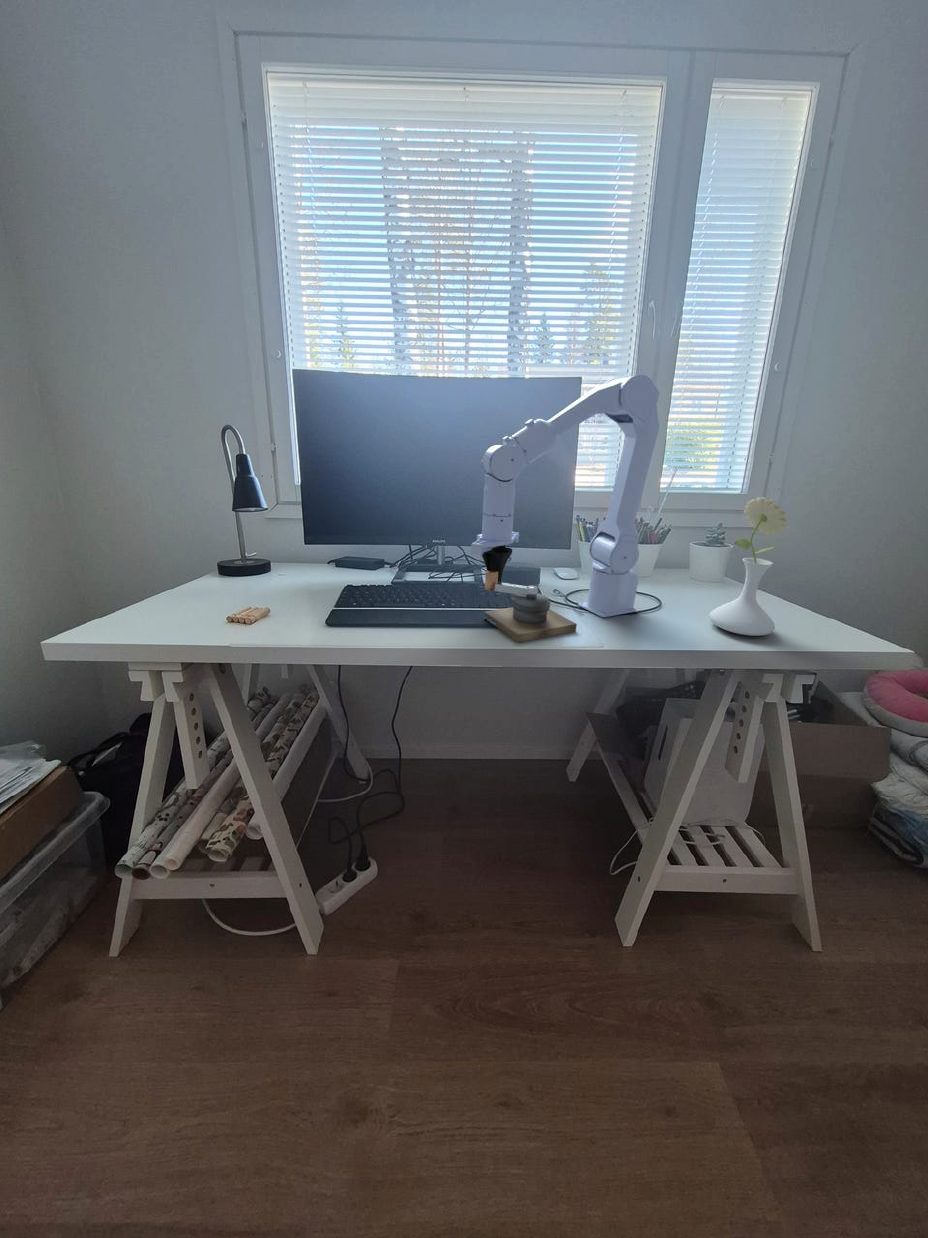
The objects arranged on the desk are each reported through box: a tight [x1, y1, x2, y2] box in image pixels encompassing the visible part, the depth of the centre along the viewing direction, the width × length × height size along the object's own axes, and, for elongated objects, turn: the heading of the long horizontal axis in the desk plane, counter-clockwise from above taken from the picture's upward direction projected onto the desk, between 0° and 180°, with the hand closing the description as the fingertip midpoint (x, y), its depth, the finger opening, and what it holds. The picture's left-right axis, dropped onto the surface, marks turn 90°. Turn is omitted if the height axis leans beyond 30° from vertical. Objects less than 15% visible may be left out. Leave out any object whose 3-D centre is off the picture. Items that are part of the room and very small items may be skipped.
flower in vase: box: [708, 496, 788, 637], centre depth 88 cm, size 13×11×25 cm
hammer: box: [484, 569, 539, 599], centre depth 88 cm, size 10×2×4 cm, turn 69°
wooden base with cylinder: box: [483, 592, 578, 643], centre depth 89 cm, size 13×12×6 cm
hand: (493, 584), depth 92 cm, fingers closed
